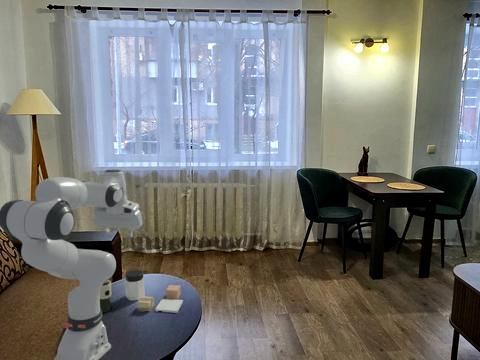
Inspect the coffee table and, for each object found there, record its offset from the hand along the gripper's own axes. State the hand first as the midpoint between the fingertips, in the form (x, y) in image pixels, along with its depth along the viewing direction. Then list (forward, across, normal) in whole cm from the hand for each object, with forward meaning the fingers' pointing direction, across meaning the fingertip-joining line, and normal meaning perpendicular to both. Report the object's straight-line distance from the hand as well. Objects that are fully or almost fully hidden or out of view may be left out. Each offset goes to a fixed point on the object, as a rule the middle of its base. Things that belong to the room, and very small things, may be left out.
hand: (119, 236), depth 177 cm
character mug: (+35, -9, -5) cm, 36 cm away
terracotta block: (+36, +18, +12) cm, 43 cm away
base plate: (+35, +19, +2) cm, 40 cm away
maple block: (+35, +9, -1) cm, 36 cm away
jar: (+36, 0, +9) cm, 37 cm away
